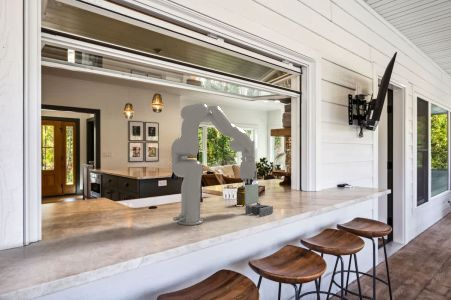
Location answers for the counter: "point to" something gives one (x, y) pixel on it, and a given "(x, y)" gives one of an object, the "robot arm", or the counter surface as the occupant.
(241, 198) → the condiment
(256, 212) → the gray rectangular prism
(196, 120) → the robot arm
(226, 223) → the counter surface
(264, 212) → the grey u-shaped block
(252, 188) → the lid
